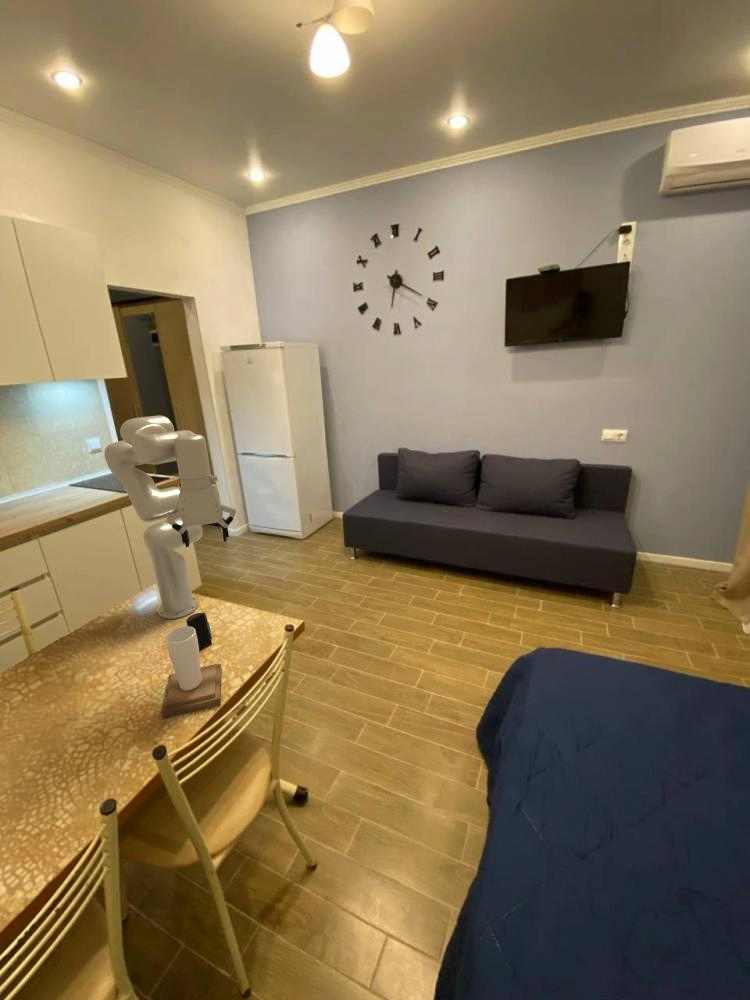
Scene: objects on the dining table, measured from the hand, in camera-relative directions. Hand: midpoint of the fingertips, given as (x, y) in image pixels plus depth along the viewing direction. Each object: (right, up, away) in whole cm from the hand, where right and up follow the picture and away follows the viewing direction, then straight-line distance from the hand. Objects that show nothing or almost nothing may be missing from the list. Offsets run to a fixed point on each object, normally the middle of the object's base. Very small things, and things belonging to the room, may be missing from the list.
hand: (206, 542), depth 115 cm
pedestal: (0, -38, -7) cm, 38 cm away
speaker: (-7, -32, +12) cm, 34 cm away
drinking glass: (-1, -35, -8) cm, 36 cm away
